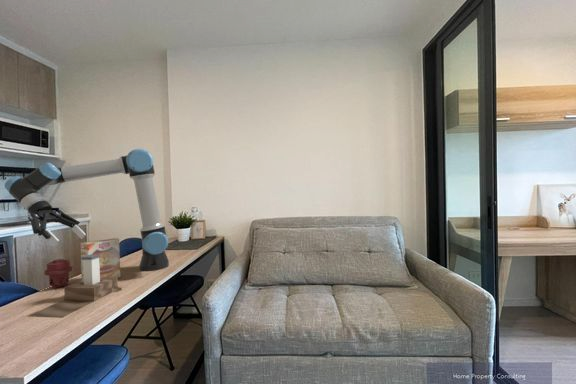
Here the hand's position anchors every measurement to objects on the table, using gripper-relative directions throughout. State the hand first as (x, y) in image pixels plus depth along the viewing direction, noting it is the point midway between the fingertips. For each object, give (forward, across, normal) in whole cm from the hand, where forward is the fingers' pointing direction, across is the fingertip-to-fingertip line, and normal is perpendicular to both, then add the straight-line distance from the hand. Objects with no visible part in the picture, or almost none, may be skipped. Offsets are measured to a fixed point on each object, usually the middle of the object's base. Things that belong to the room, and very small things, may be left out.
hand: (70, 239), depth 124 cm
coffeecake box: (+16, -18, -18) cm, 30 cm away
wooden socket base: (+24, +10, -8) cm, 28 cm away
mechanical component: (+6, -8, -27) cm, 29 cm away
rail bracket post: (+24, +3, -8) cm, 25 cm away
